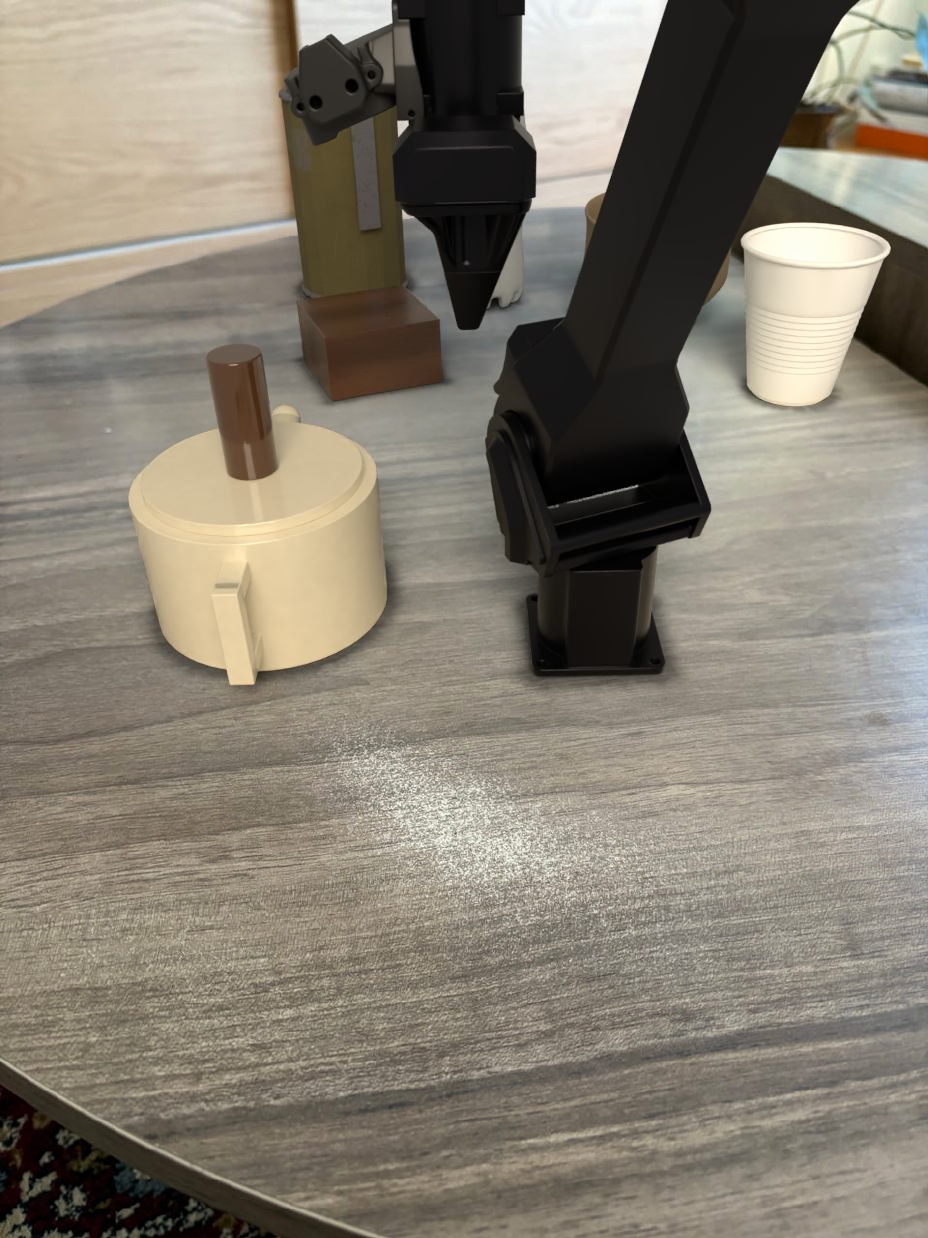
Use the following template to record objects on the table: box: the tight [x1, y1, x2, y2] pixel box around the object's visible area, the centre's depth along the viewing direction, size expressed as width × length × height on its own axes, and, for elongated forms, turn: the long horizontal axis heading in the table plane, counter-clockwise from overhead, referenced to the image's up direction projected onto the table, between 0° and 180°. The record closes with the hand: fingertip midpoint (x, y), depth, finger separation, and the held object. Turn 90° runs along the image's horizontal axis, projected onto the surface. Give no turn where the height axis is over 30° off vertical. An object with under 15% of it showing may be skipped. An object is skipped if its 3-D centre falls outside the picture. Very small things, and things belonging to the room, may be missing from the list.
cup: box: [740, 222, 892, 407], centre depth 72 cm, size 10×10×11 cm
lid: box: [140, 343, 363, 536], centre depth 48 cm, size 11×11×7 cm
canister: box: [278, 86, 409, 299], centre depth 91 cm, size 11×10×20 cm
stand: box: [296, 285, 443, 402], centre depth 79 cm, size 9×9×5 cm
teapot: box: [127, 403, 388, 686], centre depth 53 cm, size 20×12×8 cm, turn 0°
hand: (467, 299), depth 55 cm, fingers open, 9 cm apart
